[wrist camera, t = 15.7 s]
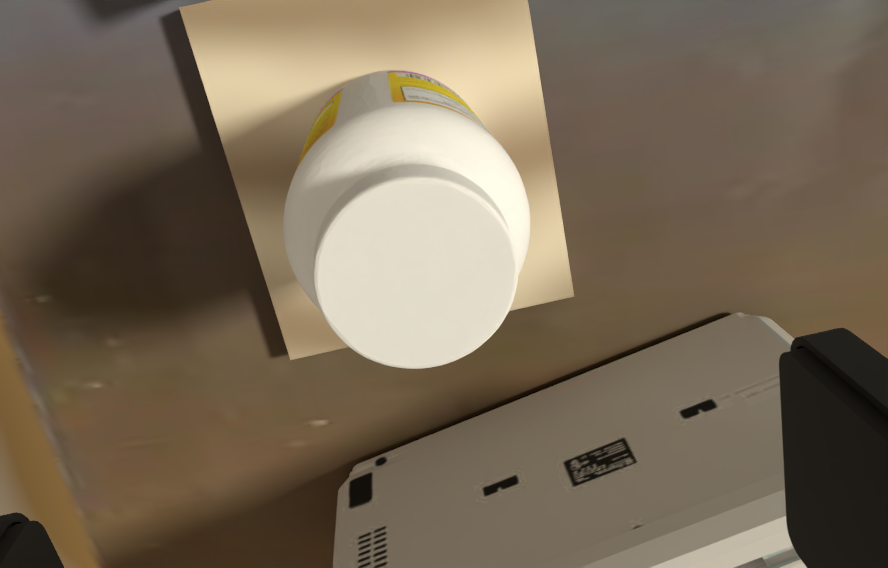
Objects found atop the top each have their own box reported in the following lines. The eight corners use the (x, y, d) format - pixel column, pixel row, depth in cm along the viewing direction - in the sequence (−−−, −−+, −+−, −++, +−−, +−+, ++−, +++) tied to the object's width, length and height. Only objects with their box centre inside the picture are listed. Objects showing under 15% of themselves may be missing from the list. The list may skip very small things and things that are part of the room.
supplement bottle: (339, 261, 31) (319, 440, 19) (282, 96, 28) (217, 182, 16) (502, 213, 30) (586, 363, 19) (459, 44, 28) (524, 91, 16)
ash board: (185, 6, 28) (179, 7, 27) (512, -67, 28) (517, -68, 27) (292, 349, 33) (290, 359, 32) (568, 287, 33) (574, 296, 32)
